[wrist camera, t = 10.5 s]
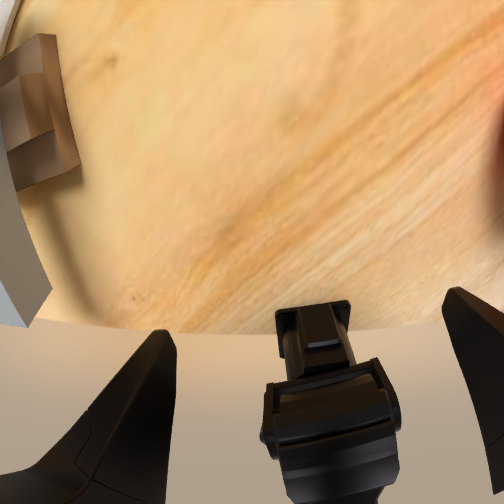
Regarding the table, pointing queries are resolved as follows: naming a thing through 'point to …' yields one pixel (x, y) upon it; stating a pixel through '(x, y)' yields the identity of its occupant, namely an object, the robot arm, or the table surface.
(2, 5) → the baseboard molding
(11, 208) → the slate stick
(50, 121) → the ridge block
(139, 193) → the table surface
